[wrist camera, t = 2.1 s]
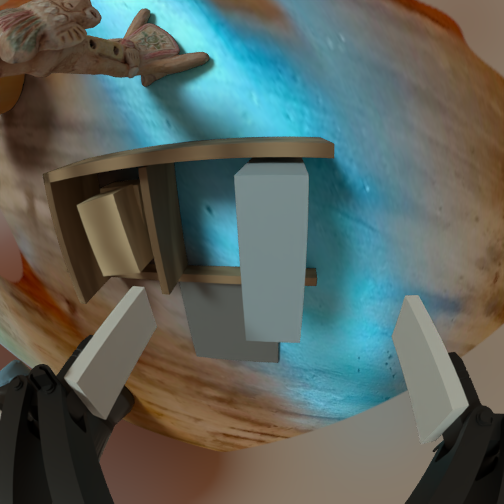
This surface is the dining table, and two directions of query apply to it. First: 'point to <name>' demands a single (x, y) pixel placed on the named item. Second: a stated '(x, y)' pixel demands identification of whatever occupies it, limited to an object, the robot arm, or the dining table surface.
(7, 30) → the figurine
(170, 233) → the rack
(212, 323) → the mat
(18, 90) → the flower pot
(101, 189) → the offcut lower
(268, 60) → the dining table surface
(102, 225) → the offcut upper
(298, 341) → the grey rectangular block
